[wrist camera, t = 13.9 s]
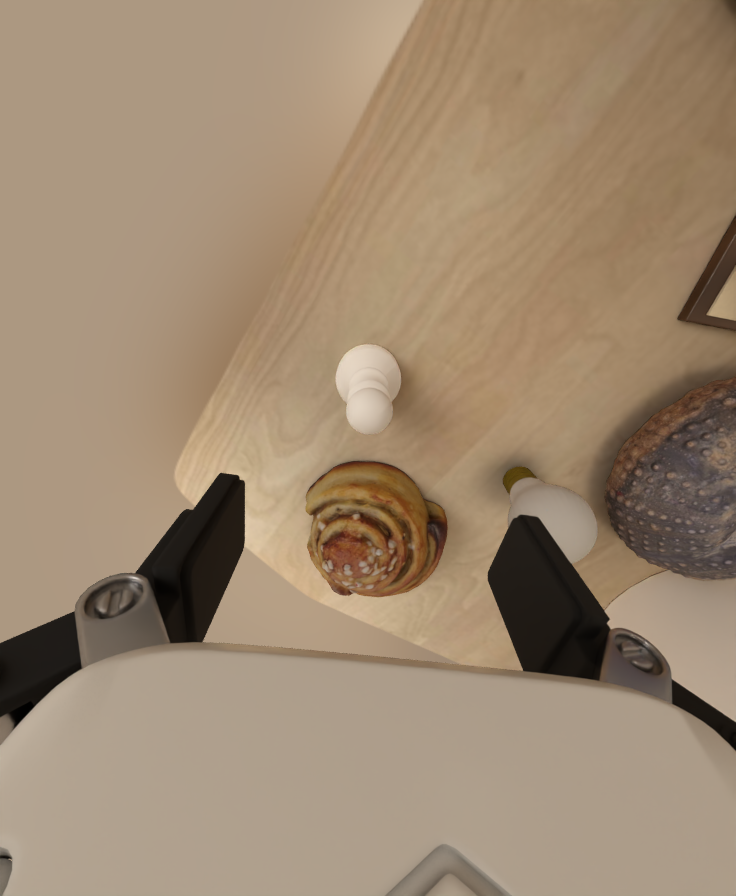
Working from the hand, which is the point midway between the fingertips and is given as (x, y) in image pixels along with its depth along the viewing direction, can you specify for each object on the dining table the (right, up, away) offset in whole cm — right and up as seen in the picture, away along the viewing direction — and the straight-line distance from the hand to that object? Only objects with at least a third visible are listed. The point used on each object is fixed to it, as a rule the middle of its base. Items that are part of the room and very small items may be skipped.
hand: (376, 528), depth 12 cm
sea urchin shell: (+30, +2, +20) cm, 36 cm away
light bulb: (+13, 0, +20) cm, 24 cm away
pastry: (0, -5, +23) cm, 23 cm away
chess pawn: (0, +9, +16) cm, 18 cm away
